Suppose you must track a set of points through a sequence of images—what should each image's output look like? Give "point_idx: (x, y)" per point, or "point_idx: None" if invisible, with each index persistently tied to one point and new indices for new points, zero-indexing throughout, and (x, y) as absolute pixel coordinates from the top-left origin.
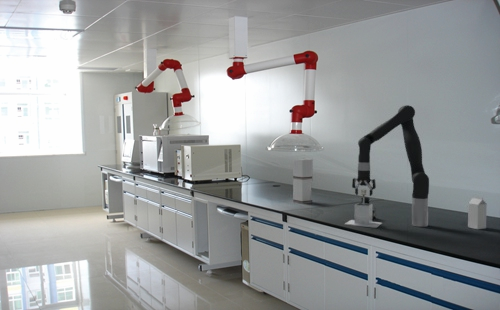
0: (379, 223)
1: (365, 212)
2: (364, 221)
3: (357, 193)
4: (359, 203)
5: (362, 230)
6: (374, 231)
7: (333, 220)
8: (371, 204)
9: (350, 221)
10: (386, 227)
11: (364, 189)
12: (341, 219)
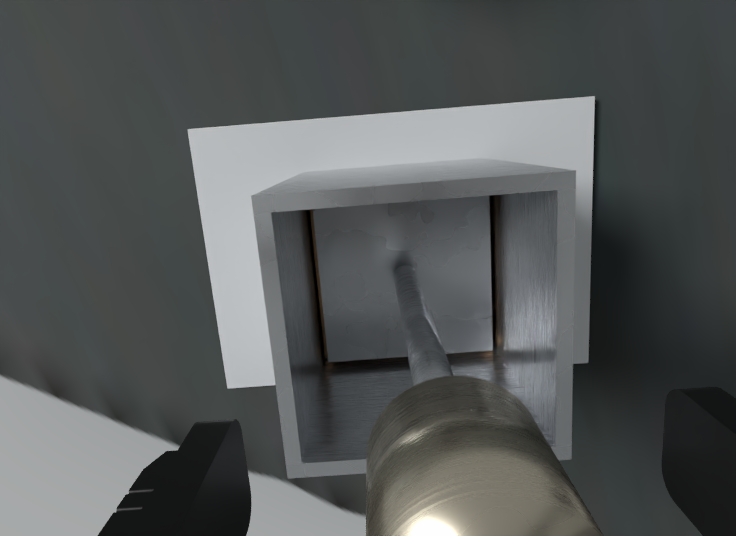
0: (577, 165)
1: None
2: None
3: (235, 505)
4: (283, 210)
5: None
6: (599, 516)
7: (6, 225)
8: (573, 262)
9: (227, 234)
10: (678, 285)
11: (498, 506)
12: (52, 109)
